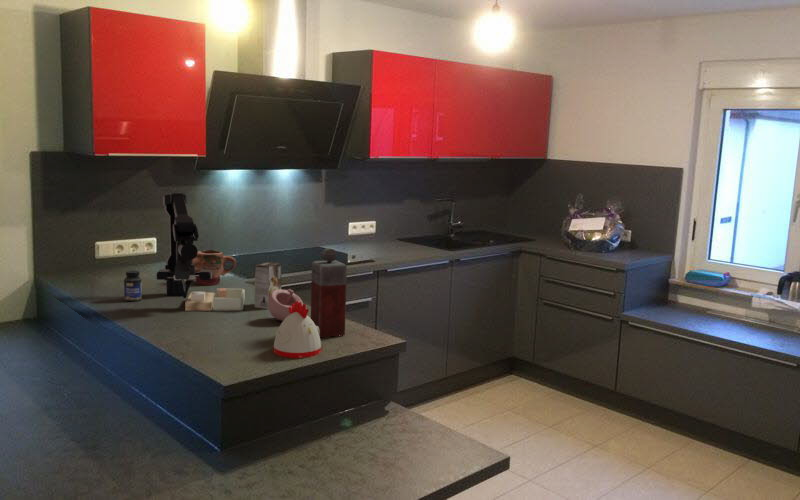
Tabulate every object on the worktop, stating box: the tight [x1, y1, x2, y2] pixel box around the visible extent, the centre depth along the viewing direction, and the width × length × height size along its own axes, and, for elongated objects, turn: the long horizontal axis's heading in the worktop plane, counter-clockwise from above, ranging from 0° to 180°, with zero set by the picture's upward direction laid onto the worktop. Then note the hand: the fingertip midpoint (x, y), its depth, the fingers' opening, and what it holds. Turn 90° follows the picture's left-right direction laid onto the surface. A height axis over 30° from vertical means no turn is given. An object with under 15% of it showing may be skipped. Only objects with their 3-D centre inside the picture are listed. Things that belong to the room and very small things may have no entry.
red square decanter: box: [310, 247, 348, 338], centre depth 221 cm, size 9×11×28 cm
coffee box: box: [254, 261, 282, 310], centre depth 255 cm, size 9×6×16 cm
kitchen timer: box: [273, 301, 322, 359], centre depth 200 cm, size 14×14×15 cm
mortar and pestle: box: [267, 288, 304, 322], centre depth 235 cm, size 12×12×11 cm
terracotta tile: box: [218, 287, 227, 298], centre depth 258 cm, size 4×4×2 cm
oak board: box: [184, 291, 216, 312], centre depth 253 cm, size 9×17×3 cm, turn 11°
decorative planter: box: [193, 249, 237, 286], centre depth 292 cm, size 20×12×14 cm, turn 105°
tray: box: [212, 288, 246, 312], centre depth 255 cm, size 10×17×4 cm, turn 10°
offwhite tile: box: [191, 291, 206, 301], centre depth 248 cm, size 4×4×2 cm
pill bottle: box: [123, 270, 142, 302], centre depth 256 cm, size 6×6×11 cm
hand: (184, 297), depth 248 cm, fingers closed
